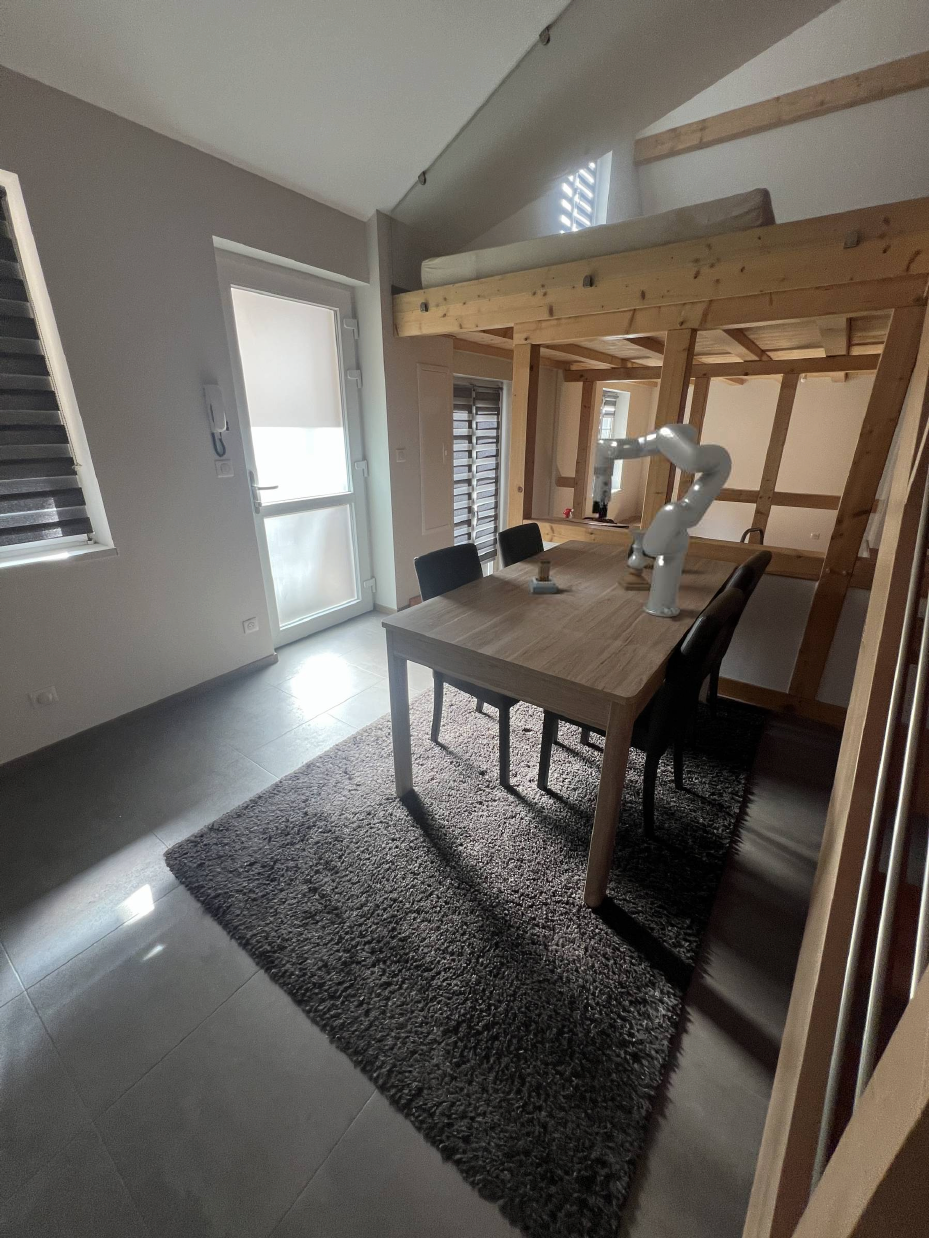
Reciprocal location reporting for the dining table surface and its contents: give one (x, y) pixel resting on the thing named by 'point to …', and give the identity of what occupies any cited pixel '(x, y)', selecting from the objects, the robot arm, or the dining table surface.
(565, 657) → the dining table surface
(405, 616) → the dining table surface
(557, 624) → the dining table surface
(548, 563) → the brown tall boxy piece
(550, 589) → the candle tray
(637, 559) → the candle holder
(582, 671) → the dining table surface
